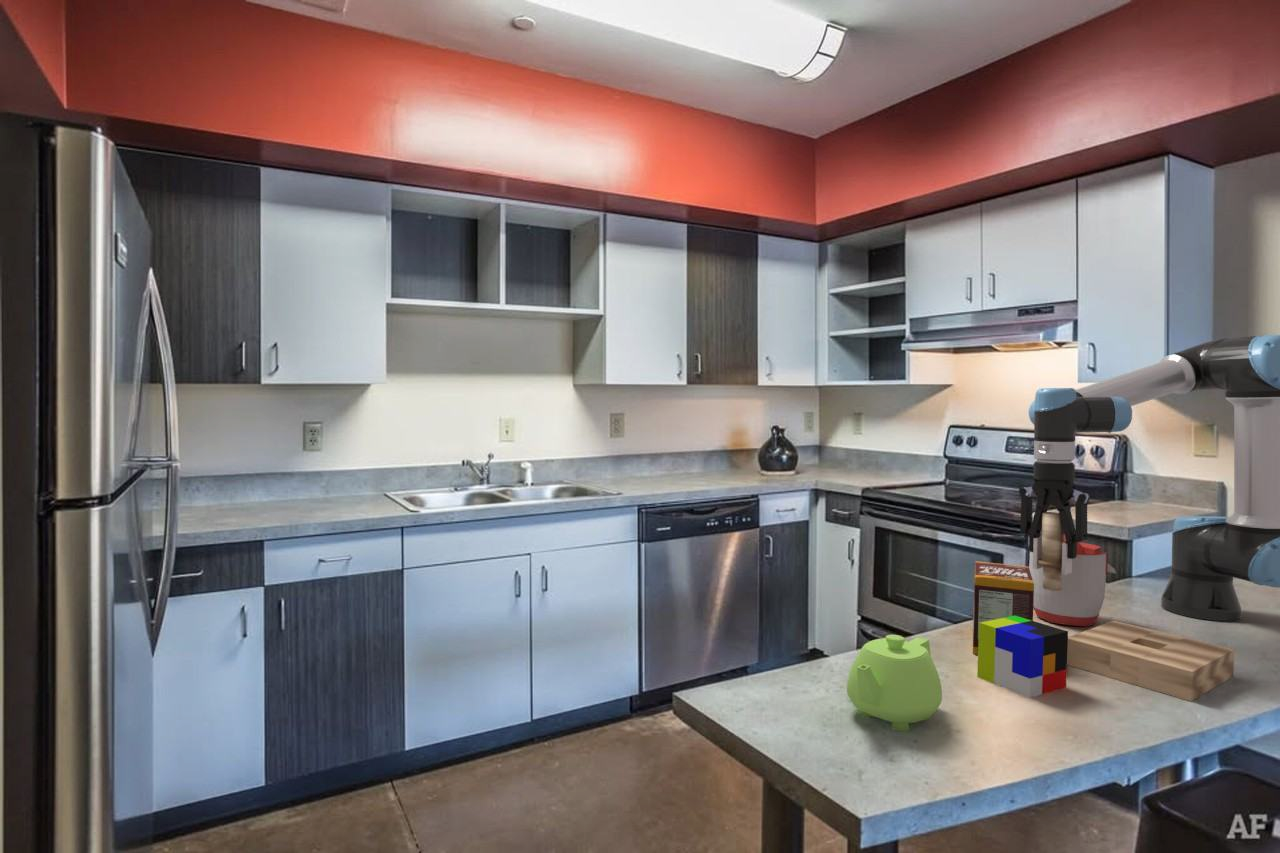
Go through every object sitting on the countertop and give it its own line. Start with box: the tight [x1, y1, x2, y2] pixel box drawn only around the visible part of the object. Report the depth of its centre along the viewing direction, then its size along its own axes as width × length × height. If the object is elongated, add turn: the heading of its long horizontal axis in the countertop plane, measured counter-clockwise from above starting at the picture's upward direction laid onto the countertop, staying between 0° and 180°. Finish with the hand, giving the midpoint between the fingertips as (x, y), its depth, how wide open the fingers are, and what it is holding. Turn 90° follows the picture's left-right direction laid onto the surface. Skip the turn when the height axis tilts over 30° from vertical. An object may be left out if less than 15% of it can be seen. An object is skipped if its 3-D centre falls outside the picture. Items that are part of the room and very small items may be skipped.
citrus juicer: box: [1028, 534, 1117, 628], centre depth 164 cm, size 16×17×20 cm
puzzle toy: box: [976, 616, 1069, 699], centre depth 128 cm, size 10×10×10 cm
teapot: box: [846, 634, 943, 733], centre depth 113 cm, size 20×13×13 cm
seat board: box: [1067, 620, 1236, 702], centre depth 134 cm, size 20×20×5 cm
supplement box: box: [972, 560, 1034, 656], centre depth 146 cm, size 10×15×16 cm
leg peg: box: [1038, 511, 1064, 591], centre depth 152 cm, size 5×5×16 cm
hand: (1052, 570), depth 153 cm, fingers closed on leg peg, 5 cm apart
